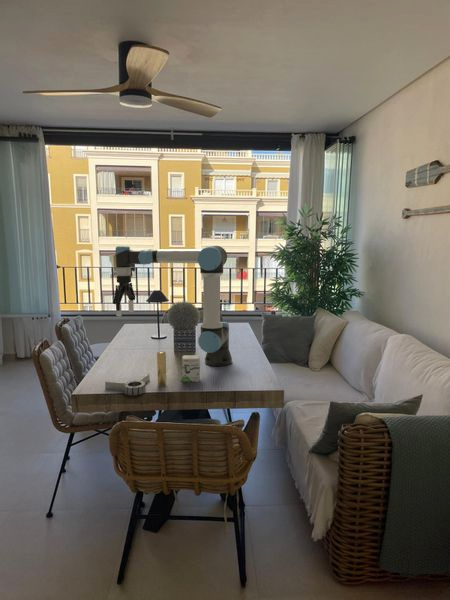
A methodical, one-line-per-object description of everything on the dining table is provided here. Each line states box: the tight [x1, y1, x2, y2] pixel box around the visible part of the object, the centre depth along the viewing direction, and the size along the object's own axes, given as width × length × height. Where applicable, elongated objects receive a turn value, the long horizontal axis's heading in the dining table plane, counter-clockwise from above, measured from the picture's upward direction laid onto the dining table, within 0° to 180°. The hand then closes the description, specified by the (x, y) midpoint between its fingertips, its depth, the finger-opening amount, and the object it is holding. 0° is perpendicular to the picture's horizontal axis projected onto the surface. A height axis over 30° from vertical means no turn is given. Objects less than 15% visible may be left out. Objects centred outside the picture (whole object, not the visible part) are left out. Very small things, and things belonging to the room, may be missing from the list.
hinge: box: [104, 373, 151, 396], centre depth 182 cm, size 19×19×4 cm
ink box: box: [181, 354, 201, 383], centre depth 190 cm, size 9×5×12 cm, turn 94°
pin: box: [156, 350, 167, 388], centre depth 183 cm, size 4×4×16 cm
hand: (125, 314), depth 213 cm, fingers open, 13 cm apart
